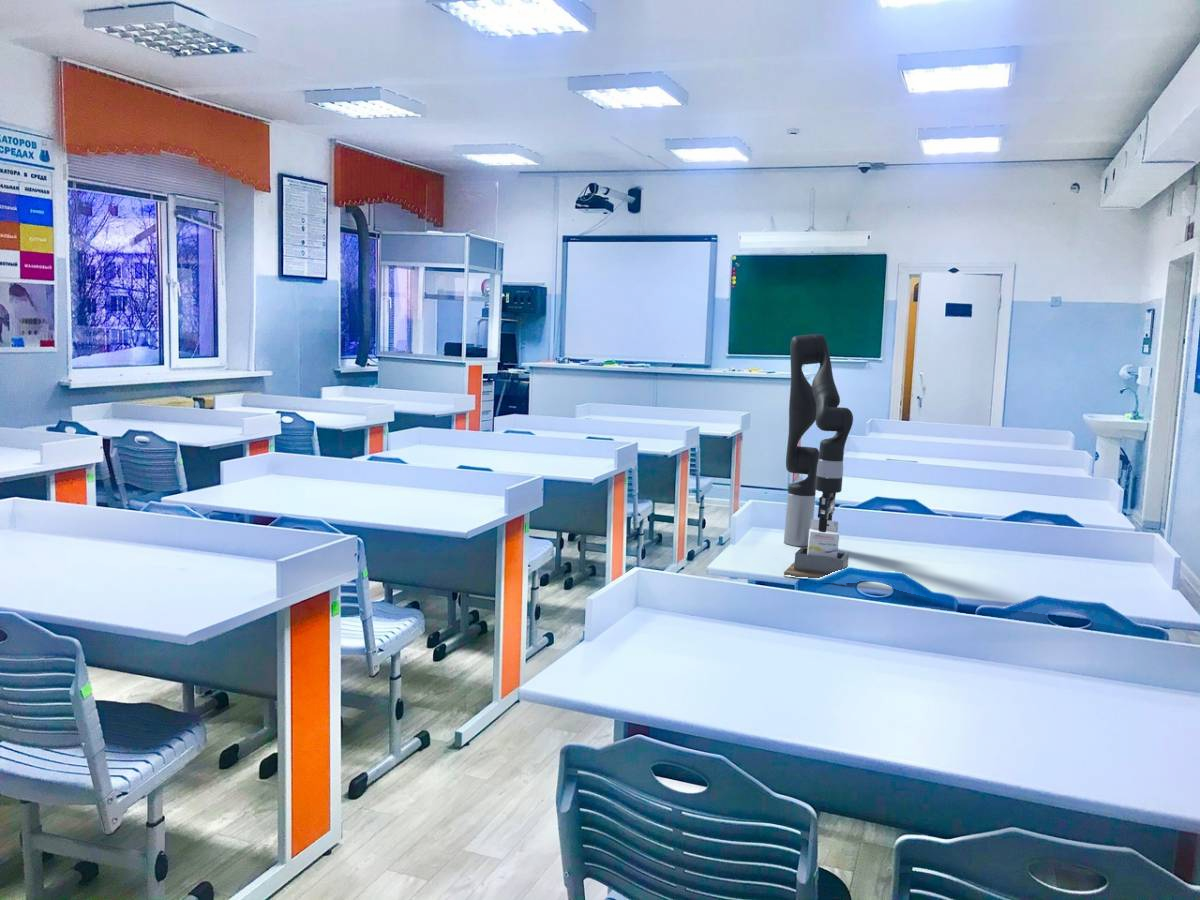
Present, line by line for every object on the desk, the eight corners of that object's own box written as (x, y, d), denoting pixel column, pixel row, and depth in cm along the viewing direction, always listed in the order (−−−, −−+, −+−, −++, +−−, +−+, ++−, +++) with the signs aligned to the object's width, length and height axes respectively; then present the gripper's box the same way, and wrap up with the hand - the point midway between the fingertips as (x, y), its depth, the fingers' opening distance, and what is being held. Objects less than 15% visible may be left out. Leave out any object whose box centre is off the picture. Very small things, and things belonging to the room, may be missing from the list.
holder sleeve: (800, 563, 296) (802, 547, 295) (847, 569, 291) (848, 553, 290) (793, 569, 287) (795, 553, 286) (842, 576, 282) (843, 560, 281)
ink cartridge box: (806, 570, 287) (810, 521, 285) (805, 566, 292) (809, 518, 290) (836, 573, 286) (840, 524, 284) (834, 569, 290) (839, 520, 289)
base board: (796, 564, 301) (796, 559, 300) (855, 572, 294) (856, 568, 294) (783, 576, 284) (784, 571, 284) (846, 586, 277) (846, 580, 277)
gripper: (820, 470, 293) (816, 523, 295) (812, 476, 280) (807, 531, 282) (846, 473, 290) (841, 526, 292) (838, 479, 277) (833, 535, 279)
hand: (824, 529), depth 287 cm, fingers open, 8 cm apart
